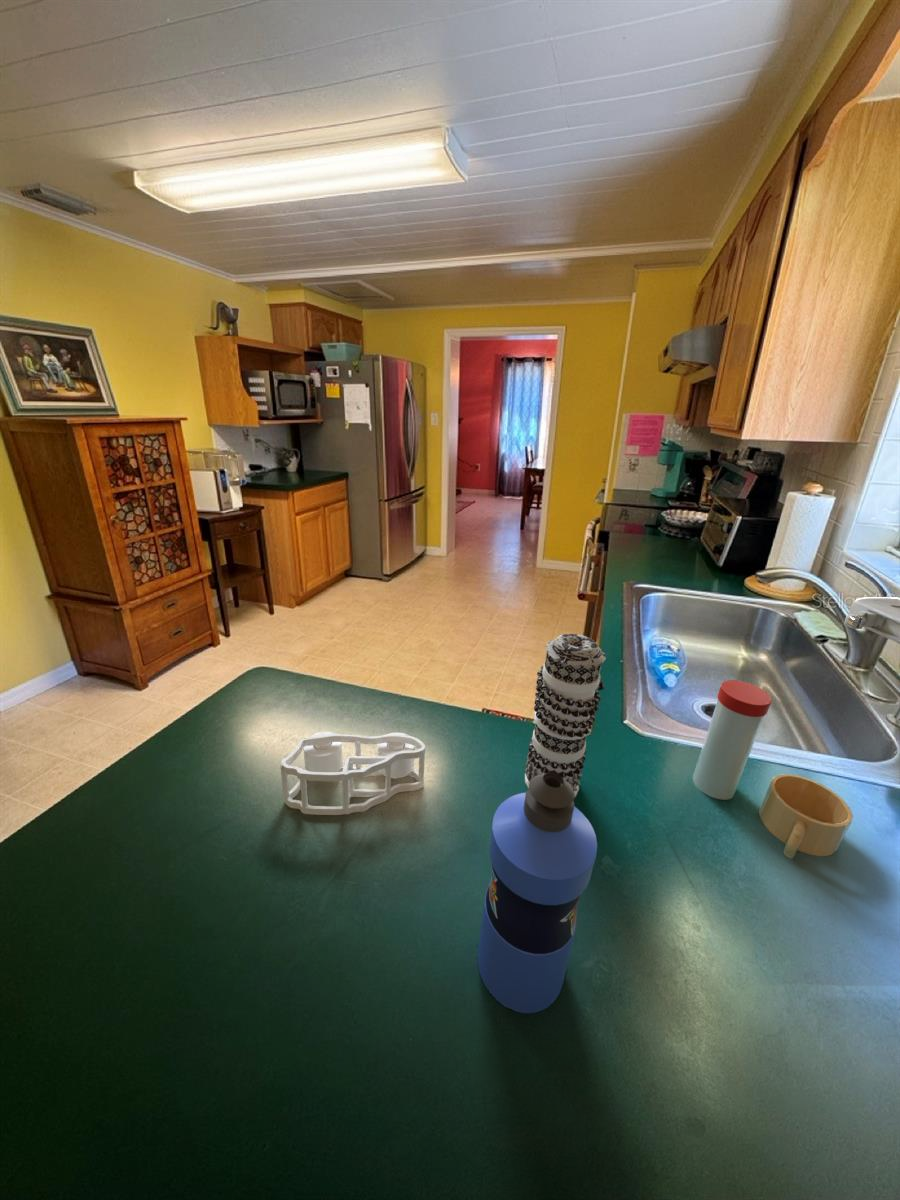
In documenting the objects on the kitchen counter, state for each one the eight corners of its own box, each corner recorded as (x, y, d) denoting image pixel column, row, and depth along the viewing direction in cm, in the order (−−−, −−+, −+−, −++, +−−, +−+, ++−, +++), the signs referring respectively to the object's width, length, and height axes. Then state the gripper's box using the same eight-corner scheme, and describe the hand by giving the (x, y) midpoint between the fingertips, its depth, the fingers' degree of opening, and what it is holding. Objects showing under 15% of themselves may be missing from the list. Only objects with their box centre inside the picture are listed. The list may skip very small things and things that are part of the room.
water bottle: (467, 996, 47) (489, 807, 37) (485, 907, 55) (507, 734, 45) (562, 1029, 45) (612, 838, 35) (567, 932, 53) (608, 756, 43)
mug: (766, 794, 74) (778, 764, 72) (840, 831, 68) (856, 799, 66) (745, 841, 66) (758, 809, 63) (827, 887, 60) (845, 854, 57)
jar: (720, 773, 78) (753, 680, 71) (743, 803, 72) (782, 706, 65) (683, 772, 78) (712, 679, 71) (703, 802, 72) (737, 704, 65)
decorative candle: (540, 753, 80) (562, 620, 70) (591, 782, 75) (622, 642, 65) (510, 781, 74) (529, 640, 64) (563, 815, 68) (593, 665, 58)
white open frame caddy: (424, 760, 77) (425, 724, 74) (423, 815, 67) (425, 775, 64) (299, 759, 76) (296, 722, 73) (279, 815, 65) (275, 774, 63)
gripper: (1044, 694, 59) (947, 695, 58) (889, 626, 78) (813, 625, 77) (1071, 649, 57) (970, 649, 56) (905, 590, 76) (826, 589, 74)
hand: (878, 635), depth 66 cm, fingers open, 8 cm apart
